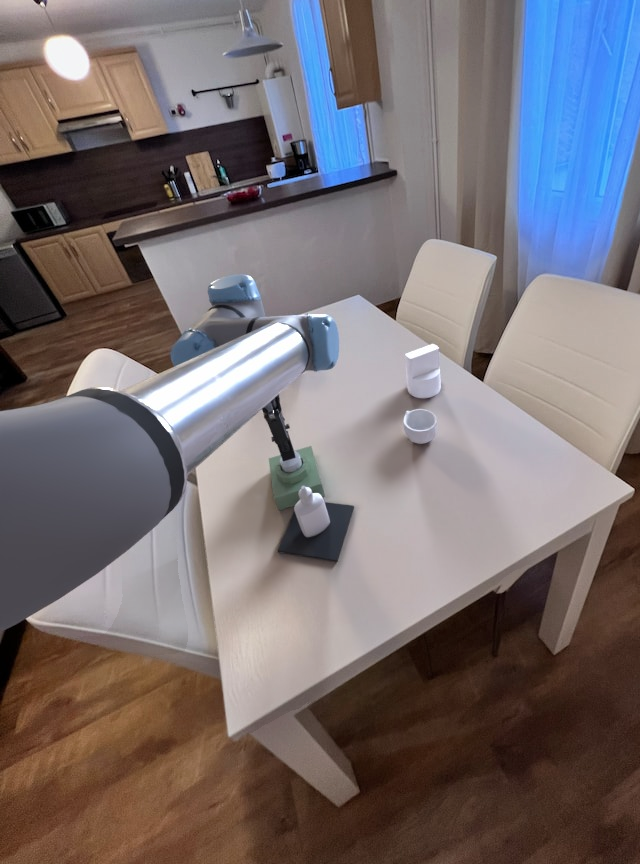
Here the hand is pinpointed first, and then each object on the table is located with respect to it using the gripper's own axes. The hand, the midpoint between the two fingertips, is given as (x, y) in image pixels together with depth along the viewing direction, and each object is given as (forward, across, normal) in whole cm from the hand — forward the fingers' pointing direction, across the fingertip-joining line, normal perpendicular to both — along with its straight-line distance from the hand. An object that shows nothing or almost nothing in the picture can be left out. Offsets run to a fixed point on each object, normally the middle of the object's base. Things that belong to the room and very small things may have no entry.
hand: (288, 457), depth 85 cm
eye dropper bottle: (+8, +13, +2) cm, 15 cm away
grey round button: (+3, 0, 0) cm, 3 cm away
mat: (+8, +13, +2) cm, 16 cm away
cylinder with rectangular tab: (+8, -20, +39) cm, 44 cm away
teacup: (+8, -4, +30) cm, 32 cm away
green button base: (+8, 0, 0) cm, 8 cm away
